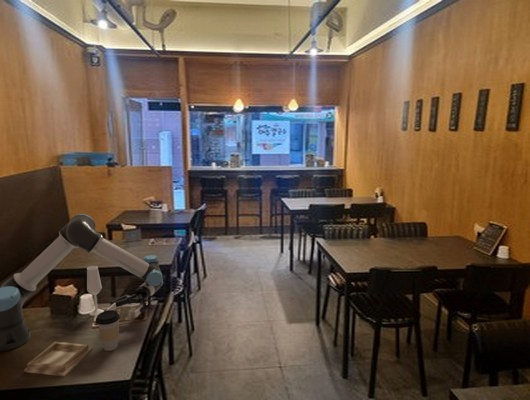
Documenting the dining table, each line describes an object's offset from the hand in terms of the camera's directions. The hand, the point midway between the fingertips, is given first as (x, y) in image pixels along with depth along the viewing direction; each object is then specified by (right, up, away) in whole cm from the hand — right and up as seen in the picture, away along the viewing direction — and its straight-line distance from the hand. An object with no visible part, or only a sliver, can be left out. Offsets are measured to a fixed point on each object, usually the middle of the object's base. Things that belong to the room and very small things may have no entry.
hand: (121, 313), depth 168 cm
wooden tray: (-19, -14, -17) cm, 29 cm away
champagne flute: (-21, -6, +23) cm, 31 cm away
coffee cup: (-2, -12, -7) cm, 14 cm away
